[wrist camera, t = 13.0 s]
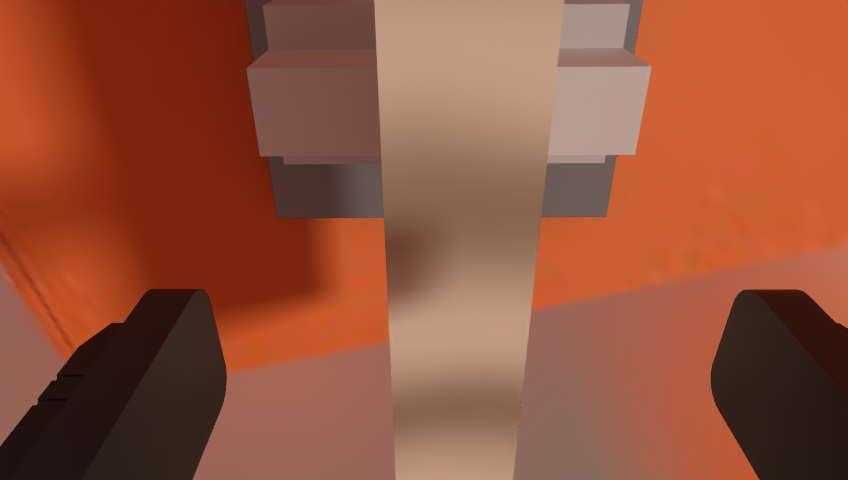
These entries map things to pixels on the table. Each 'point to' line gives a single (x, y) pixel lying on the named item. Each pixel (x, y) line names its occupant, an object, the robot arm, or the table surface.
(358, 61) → the ridge stand
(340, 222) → the table surface
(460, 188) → the ash bar
